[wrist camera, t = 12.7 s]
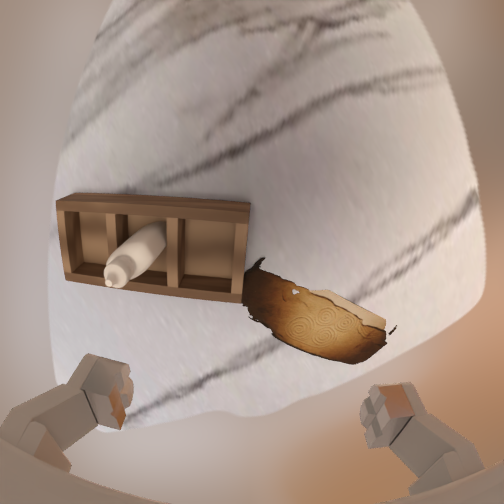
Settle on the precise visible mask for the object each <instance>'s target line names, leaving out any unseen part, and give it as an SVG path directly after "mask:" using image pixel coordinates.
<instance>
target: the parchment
mask: <svg viewBox="0 0 504 504" xmlns="http://www.w3.org/2000/svg"><path fill="white" fill-rule="evenodd" d="M264 259H265V258H263V259H260V260H259V261H258V262H257V263H255V265H254V266H253V267H252V269H250V270H248V271H247V272H246V273H245V274H244V277H243V288H242V299H241V303H242V304H243V306H246V307H248V311H249V313H250V316H251V315H252V316H253V318H250V317H249V318H250V319H252V320H254V321H256V322H260V323H262V324H263V325H264V326H265V327H267V328H270V329H271V330H272V332H273V333H271V334H272V335H273V336H274V337H275V338H277V339H278V340H281V341H282V342H284V343H286V344H287V345H290V346H292V347H294V348H296V349H299V350H301V351H304V352H306V353H309V354H311V355H314V356H318V357H321V358H325V359H328V360H332V361H338V362H342V363H346V364H356V363H357V364H358V363H360V362H364V361H366V360H367V359H368V358H370V357H371V356H372V355H374V354H375V353H376V352H377V351H378V350H379V349H381V348H382V347H383V346H385V345H386V344H387V342H385V340H386V331H385V330H384V328H385V326H386V319H384V318H381V317H379V316H378V315H375V314H373V313H371V312H369V311H367V310H365V309H363V308H361V307H359V306H357V305H355V304H353V303H352V302H349V301H347V300H346V299H344V298H342V297H340V296H339V295H337V294H335V293H333V292H331V291H329V290H320V291H316V290H315V291H309V290H308V289H307V288H304V287H300V286H296V284H295V283H294V282H292V281H288V280H286V279H282V278H281V277H280V276H277V275H274V274H272V273H270V272H266V271H263V270H261V269H260V268H259V267H261V266H259V265H261V263H262V261H263V260H264ZM292 289H295V290H297V291H298V290H299V292H300V293H297V294H295V295H294V294H293V293H292ZM256 319H257V320H259V321H257V320H256ZM396 326H397V325H396ZM396 326H395V328H394V330H395V329H396ZM394 330H392V331H390V333H389V335H391V334H392V333H393V332H394Z"/></svg>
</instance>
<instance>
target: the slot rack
mask: <svg viewBox="0 0 504 504" xmlns="http://www.w3.org/2000/svg"><path fill="white" fill-rule="evenodd" d="M56 211H57V222H58V232H59V240H60V248H61V255H62V261H63V268H64V274H65V279H66V280H67V281H73V282H79V283H85V284H91V285H97V286H103V287H108V286H106V284H105V281H106V280H105V277H104V269H105V267H106V263H107V260H108V259H109V257H110V256H111V254H112V253H113V252H114V251H115V250H116V249H117V248H118V247H120V246H121V245H122V244H123V243H124V242H125V241H126V240H128V239H129V238H130V237H131V236H132V235H134V234H135V233H136V232H137V231H138V230H140V229H141V228H142V227H144V226H146V225H148V224H150V223H153V222H159V221H163V222H165V223H166V224H167V246H166V247H165V248H164V250H163V251H162V252H161V253H160V254H159V256H158V257H157V258H156V259H155V261H154V262H153V263H152V264H151V265H150V267H149V268H148V269H147V270H146V271H145V272H143V273H142V274H141V275H139V276H138V277H136V278H133V279H130V280H129V281H128V282H127V284H126V285H125V286H123V287H121V288H117V289H123V290H130V291H137V292H145V293H152V294H160V295H168V296H176V297H184V298H193V299H202V300H211V301H220V302H230V303H241V299H242V288H243V277H244V267H245V256H246V245H247V234H248V223H249V213H250V203H246V202H235V201H223V200H210V199H197V198H183V197H167V196H149V195H129V194H102V193H73V194H71V195H68V196H66V197H64V198H61V199H59V200H56ZM110 288H115V287H112V286H111V287H110Z"/></svg>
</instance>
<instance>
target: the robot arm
mask: <svg viewBox="0 0 504 504" xmlns="http://www.w3.org/2000/svg"><path fill="white" fill-rule="evenodd" d="M130 372H131V371H130V367H129V364H126V363H123V362H119V361H115V360H111V359H107V358H104V357H99V356H96V355H92V354H89V353H88V354H86V355H85V356H84V357H83V359H82V360H81V362H80V363H79V365H78V367H77V368H76V370H75V371H74V373H73V375H72V376H71V378H70V379H69V381H68V383H67V384H66V385H65V384H61V385H59V386H57V387H55V388H53V389H51V390H49V391H47V392H45V393H43V394H41V395H39V396H37V397H35V398H33V399H31V400H29V401H27V402H24V403H22V404H21V405H18V406H16V407H14V408H12V409H11V411H10V413H9V414H8V416H7V417H6V419H5V420H4V422H3V424H2V425H1V427H0V504H170V503H165V502H160V501H155V500H151V499H147V498H143V497H139V496H135V495H132V494H128V493H124V492H121V491H118V490H115V489H111V488H108V487H105V486H102V485H99V484H96V483H94V482H91V481H88V480H85V479H83V478H80V477H78V476H75V475H73V474H70V473H69V471H70V469H71V466H72V465H71V463H70V461H69V460H68V458H67V457H66V456H65V455H64V453H63V451H64V450H66V449H67V448H68V447H70V446H71V445H72V444H74V443H75V442H77V441H78V440H79V439H81V438H82V437H83V436H85V435H86V434H87V433H89V432H90V431H91V430H93V429H94V428H95V427H97V426H98V424H100V425H103V426H107V427H110V428H114V429H118V430H121V427H122V425H123V422H124V420H125V417H126V413H125V410H124V409H125V408H127V407H129V406H130V404H131V401H132V398H133V392H134V387H133V381H132V380H131V379H130V377H129V374H130ZM369 395H370V396H369V397H368V398H366V399H365V400H364V402H363V403H362V405H361V409H360V420H361V424H362V425H363V426H364V427H365V428H366V429H367V430H366V432H365V438H366V442H367V445H368V448H379V447H388V446H390V447H389V448H390V449H391V450H392V451H393V452H394V453H395V454H396V455H397V456H398V457H399V458H400V459H401V460H402V461H403V462H404V464H406V466H407V467H408V468H409V469H410V470H411V471H412V472H413V473H414V474H415V475H416V476H417V477H418V479H417V480H416V481H415V482H414V483H413V484H411V485H410V487H409V492H410V496H407V497H403V498H399V499H395V500H391V501H386V502H382V503H377V504H504V460H502V461H500V462H498V463H496V464H494V465H492V466H490V467H487V468H484V466H483V463H482V461H481V459H480V457H479V455H478V452H477V450H476V448H475V446H474V444H473V443H472V442H470V441H469V440H467V439H466V438H465V437H463V436H462V435H460V434H459V433H458V432H456V431H455V430H453V429H452V428H450V427H449V426H448V425H446V424H445V423H443V422H442V421H440V420H439V419H438V418H436V417H435V416H434V415H432V414H427V411H426V409H425V407H424V405H423V403H422V401H421V399H420V397H419V395H418V393H417V391H416V389H415V387H414V385H413V384H412V383H411V382H406V383H393V384H379V385H373V386H372V387H371V388H370V390H369Z"/></svg>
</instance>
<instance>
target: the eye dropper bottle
mask: <svg viewBox="0 0 504 504" xmlns="http://www.w3.org/2000/svg"><path fill="white" fill-rule="evenodd" d="M166 246H167V224H166V223H165V222H163V221H159V222H153V223H150V224H148V225H146V226H144V227H142V228H141V229H140V230H138V231H137V232H136V233H135V234H134V235H132V236H131V237H130V238H129V239H128V240H126V241H125V242H124V243H123V244H122V245H121V246H120V247H118V248H117V249H116V250H115V251H114V252H113V253H112V254H111V256H110V257H109V259H108V260H107V263H106V267H105V269H104V277H105V280H106V281H105V284H106V286H108V287H111V286H112V287H115V288H121V287H123V286H125V285H126V284H127V282H128V281H129V280H130V279H133V278H136V277H138V276H139V275H141V274H142V273H143V272H145V271H146V270H147V269H148V268H149V267H150V265H151V264H152V263H153V262H154V261H155V259H156V258H157V257H158V256H159V254H160V253H161V252H162V251H163V250H164V248H165V247H166Z"/></svg>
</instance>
